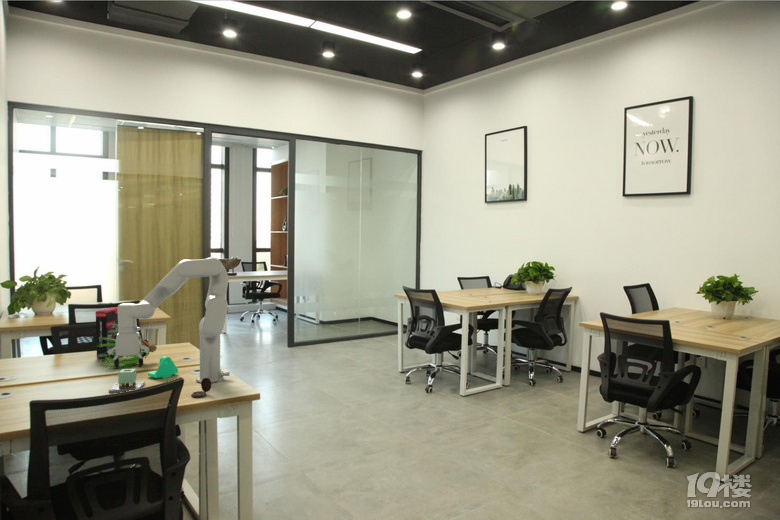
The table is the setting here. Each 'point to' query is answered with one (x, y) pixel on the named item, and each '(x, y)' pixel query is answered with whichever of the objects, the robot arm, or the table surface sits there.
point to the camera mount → (164, 368)
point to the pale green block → (127, 376)
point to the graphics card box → (105, 329)
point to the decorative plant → (126, 361)
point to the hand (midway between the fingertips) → (129, 367)
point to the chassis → (126, 386)
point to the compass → (203, 388)
